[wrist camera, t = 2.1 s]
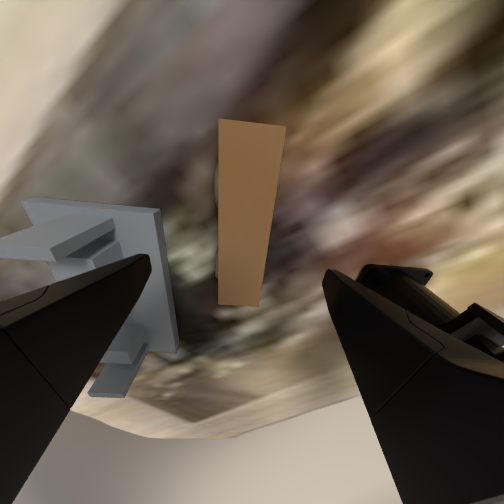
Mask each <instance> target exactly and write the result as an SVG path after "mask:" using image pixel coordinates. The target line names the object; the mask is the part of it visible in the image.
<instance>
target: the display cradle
mask: <svg viewBox="0 0 504 504" xmlns="http://www.w3.org/2000/svg"><path fill="white" fill-rule="evenodd" d="M21 203H22V205H23V207H24V208H25V210H26V212H27V214H28V216H29V218H30V220H31V222H32V224H33V227H30V228H27V229H24V230H21V231H19V232H16V233H13V234H10V235H7V236H4V237H1V238H0V258H13V259H26V260H39V261H46V262H47V264H48V266H49V268H50V270H51V272H52V274H53V276H54V277H55V279H56V280H57V281H62V280H65V279H68V278H70V277H73V276H76V275H79V274H82V273H85V272H87V271H90V270H93V269H96V268H99V267H102V266H105V265H107V264H110V263H113V262H116V261H119V260H122V259H125V258H127V257H130V256H133V255H136V254H139V253H142V254H148V255H149V256H150V261H151V266H152V272H151V275H150V277H149V279H148V281H147V283H146V285H145V287H144V289H143V292H142V294H141V296H140V298H139V299H138V301H137V303H136V304H135V306H134V308H133V309H132V311H131V313H130V314H129V316H128V317H127V319H126V321H125V322H124V324H123V325H122V327H121V329H120V330H119V332H118V333H117V335H116V337H115V338H114V340H113V342H112V343H111V345H110V346H109V348H108V350H107V351H106V353H105V354H104V356H103V358H102V359H101V361H100V363H107V364H106V366H105V367H104V369H103V370H102V372H101V373H100V375H99V376H98V378H97V379H96V381H95V382H94V384H93V385H92V387H91V388H90V390H89V391H88V394H89V396H90V397H110V398H125V396H126V394H127V392H128V390H129V388H130V386H131V384H132V382H133V380H134V378H135V376H136V374H137V372H138V370H139V368H140V366H141V364H142V362H143V360H144V358H145V356H146V354H147V352H167V353H176V352H177V349H178V347H179V344H180V343H179V336H178V329H177V322H176V315H175V308H174V301H173V294H172V287H171V280H170V273H169V266H168V259H167V252H166V245H165V238H164V231H163V224H162V217H161V210H160V209H154V208H144V207H134V206H124V205H113V204H103V203H93V202H82V201H72V200H62V199H51V198H41V197H37V198H32V199H28V200H23V201H21Z"/></svg>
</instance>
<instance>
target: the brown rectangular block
mask: <svg viewBox="0 0 504 504" xmlns="http://www.w3.org/2000/svg"><path fill="white" fill-rule="evenodd" d="M285 133H286V126H278V125H269V124H261V123H252V122H243V121H235V120H226V119H219V162H218V163H217V165H216V170H215V182H214V194H215V204H216V207H218V247H217V252H216V260H215V277H216V278H218V304H219V305H237V306H255V307H259V301H260V295H261V288H262V282H263V275H264V269H265V262H266V256H267V249H268V243H269V236H270V230H271V224H272V217H273V211H274V204H275V198H276V191H277V185H278V178H279V172H280V165H281V159H282V152H283V146H284V139H285Z"/></svg>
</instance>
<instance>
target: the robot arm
mask: <svg viewBox="0 0 504 504" xmlns="http://www.w3.org/2000/svg"><path fill="white" fill-rule="evenodd" d="M370 269H371V270H370ZM369 270H370V271H369ZM151 272H152V266H151V261H150V256H149V255H148V254H142V253H139V254H136V255H133V256H130V257H127V258H125V259H122V260H119V261H116V262H113V263H110V264H107V265H105V266H102V267H99V268H96V269H93V270H90V271H87V272H85V273H82V274H79V275H76V276H73V277H70V278H68V279H65V280H62V281H59V282H56V283H53V284H51V285H50V286H49V285H47V286H45V287H42V288H39V289H36V290H33V291H30V292H27V293H24V294H21V295H18V296H15V297H12V298H9V299H6V300H3V301H0V504H12V503H13V501H14V500H15V498H16V496H17V495H18V493H19V491H20V490H21V488H22V487H23V485H24V483H25V482H26V480H27V479H28V477H29V475H30V474H31V472H32V471H33V469H34V467H35V466H36V464H37V463H38V461H39V459H40V457H41V456H42V454H43V453H44V451H45V450H46V448H47V446H48V445H49V443H50V442H51V440H52V438H53V437H54V435H55V434H56V432H57V430H58V429H59V427H60V426H61V424H62V422H63V421H64V419H65V417H66V416H67V414H68V413H69V411H70V408H71V407H72V406H73V404H74V403H75V401H76V399H77V398H78V396H79V395H80V393H81V391H82V390H83V388H84V387H85V385H86V383H87V382H88V380H89V379H90V377H91V375H92V374H93V372H94V370H95V369H96V367H97V366H98V364H99V362H100V361H101V359H102V358H103V356H104V354H105V353H106V351H107V350H108V348H109V346H110V345H111V343H112V342H113V340H114V338H115V337H116V335H117V333H118V332H119V330H120V329H121V327H122V325H123V324H124V322H125V321H126V319H127V317H128V316H129V314H130V313H131V311H132V309H133V308H134V306H135V304H136V303H137V301H138V299H139V298H140V296H141V294H142V292H143V289H144V287H145V285H146V283H147V281H148V279H149V277H150V275H151ZM432 275H433V272H432V271H430V270H428V269H423V268H411V267H399V266H387V265H375V264H369V265H367V266H365V267H364V269H363V271H362V273H361V275H360V277H359V279H358V281H357V282H356V281H355V280H353V279H351V278H350V277H348V276H346V275H344V274H343V273H341V272H339V271H337V270H335V269H328V270H327V271H326V273H325V276H324V279H323V281H322V287H323V291H324V295H325V299H326V302H327V306H328V310H329V313H330V316H331V318H332V321H333V323H334V326H335V329H336V331H337V334H338V336H339V339H340V342H341V344H342V347H343V349H344V352H345V355H346V357H347V360H348V362H349V365H350V368H351V370H352V373H353V375H354V378H355V381H356V383H357V386H358V388H359V391H360V393H361V396H362V399H363V401H364V404H365V406H366V409H367V411H368V414H369V417H370V418H371V422H372V425H373V427H374V430H375V433H376V435H377V438H378V441H379V443H380V446H381V448H382V451H383V454H384V456H385V459H386V461H387V464H388V466H389V469H390V471H391V474H392V477H393V479H394V482H395V485H396V487H397V490H398V492H399V495H400V498H401V500H402V503H403V504H504V348H503V347H501V346H503V345H504V319H503V318H502V317H500V316H498V315H496V314H495V313H493V312H491V311H489V310H488V309H486V308H484V307H482V306H480V305H479V304H477V303H473V304H472V305H470V306H469V307H467V308H468V309H467V310H466V311H464V312H463V313H461V314H460V313H459V312H457V311H456V310H455V309H453V308H452V307H451V306H450V305H448V304H447V303H446V302H444V301H443V300H442V299H441V298H439V297H438V296H437V295H435V294H434V293H433V292H432V291H430V290H429V289H428V288H426V287H425V285H426V284H427V282H428V281H429V280H430V278H431V277H432Z"/></svg>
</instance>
